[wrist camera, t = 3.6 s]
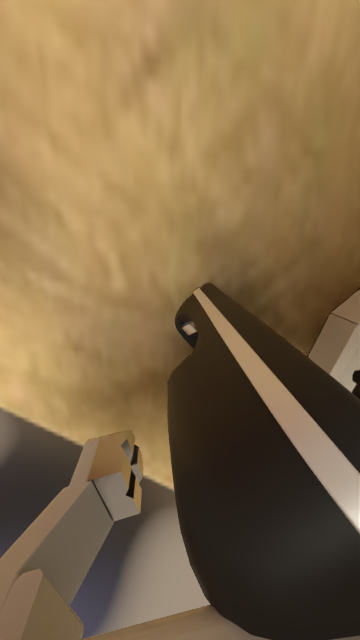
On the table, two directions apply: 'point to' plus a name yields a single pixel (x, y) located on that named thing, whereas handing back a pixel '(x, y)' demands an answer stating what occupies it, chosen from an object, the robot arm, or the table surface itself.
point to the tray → (340, 342)
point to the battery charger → (265, 476)
